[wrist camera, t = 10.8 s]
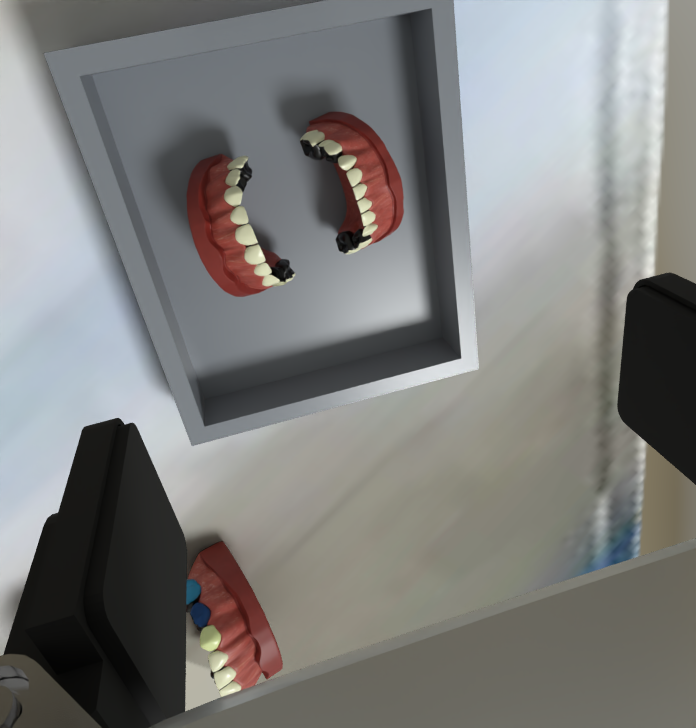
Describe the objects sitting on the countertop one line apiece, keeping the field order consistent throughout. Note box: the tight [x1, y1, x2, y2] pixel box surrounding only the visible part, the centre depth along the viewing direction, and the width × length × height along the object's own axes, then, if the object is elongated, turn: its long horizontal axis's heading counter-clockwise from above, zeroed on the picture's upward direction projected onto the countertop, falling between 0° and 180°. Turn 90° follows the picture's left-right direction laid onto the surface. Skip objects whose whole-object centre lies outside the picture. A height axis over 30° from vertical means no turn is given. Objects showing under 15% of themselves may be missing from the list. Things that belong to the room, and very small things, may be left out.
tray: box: [44, 0, 479, 446], centre depth 24 cm, size 16×14×3 cm
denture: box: [187, 112, 404, 297], centre depth 23 cm, size 6×4×8 cm
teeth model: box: [186, 541, 283, 697], centre depth 32 cm, size 8×6×12 cm
